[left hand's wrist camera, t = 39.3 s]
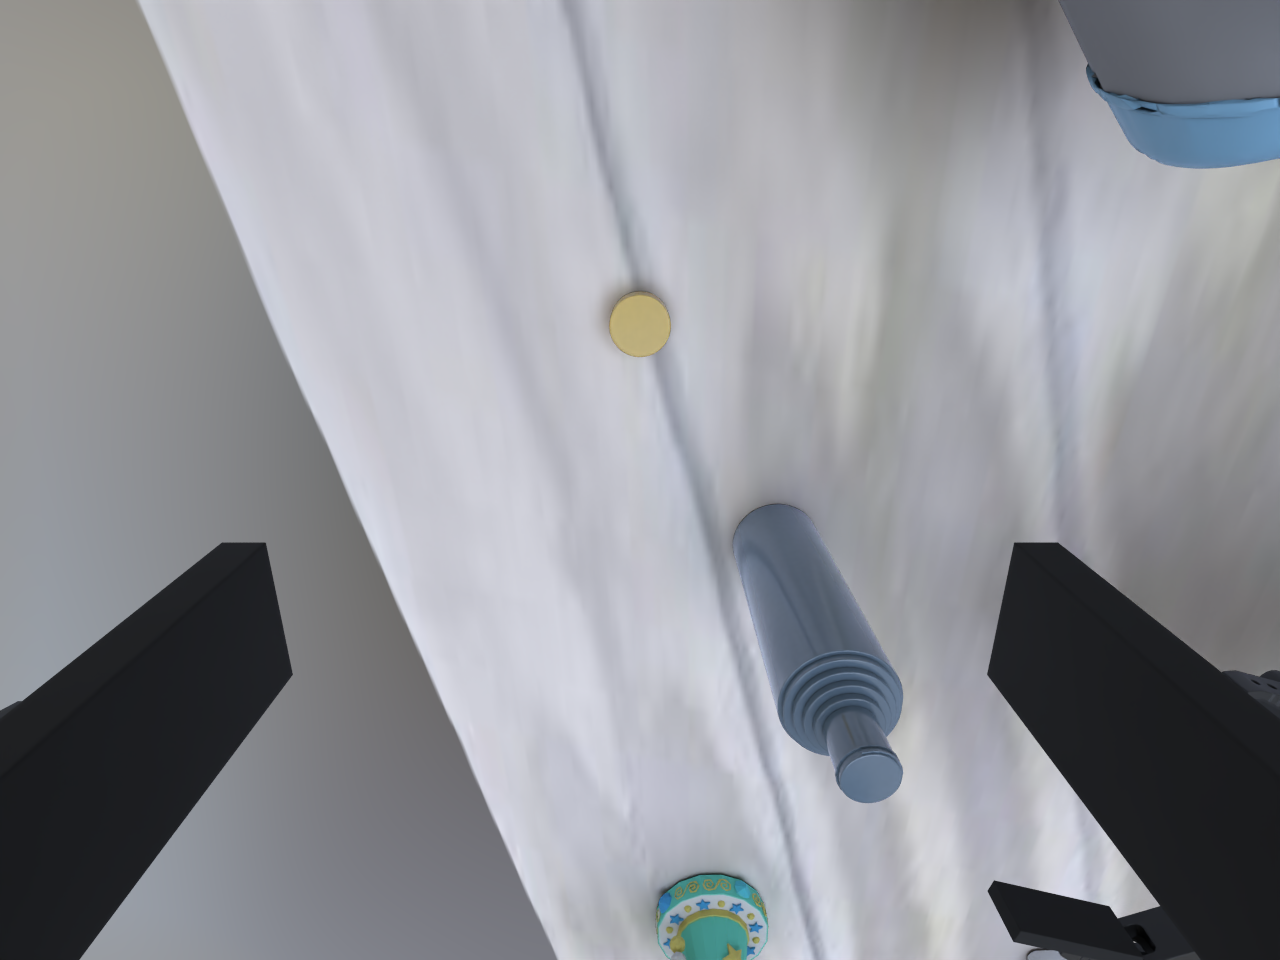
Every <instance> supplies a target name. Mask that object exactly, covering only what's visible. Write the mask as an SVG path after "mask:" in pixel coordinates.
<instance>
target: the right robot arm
mask: <svg viewBox="0 0 1280 960" xmlns="http://www.w3.org/2000/svg"><path fill="white" fill-rule="evenodd" d="M1222 673H1223V674H1224V675H1225V676H1227V677H1228V678H1229V679H1230V680H1232V681H1233V682H1234V683H1235V684H1237V685H1238V686H1239V687H1240V688H1242V689H1243V690H1244V691H1245V692H1247V693H1248V694H1249V695H1251V696H1252V697H1253V698H1254V699H1264V700H1266V701H1268V702H1270V703H1272V704H1274V705H1276V706H1278V707H1280V671H1277V670H1271V671H1268V672H1266V673H1264V674H1262V675H1261V676H1260V677H1258V676H1255V675H1251V674H1247V673H1243V672H1240V671H1236V670H1235V671H1223V672H1222ZM988 893H989V895H990V897H991V899H992V901H993V903H994V905H995V907H996V909H997V910H998V912H999V914H1000V916H1001V918H1002V920H1003V922H1004V924H1005V926H1006V928H1007V930H1008V932H1009V934H1010V936H1011V938H1012V940H1013V942H1017V943H1021V944H1026V945H1031V946H1035V947H1040V948H1044V949H1049V950H1054V951H1058V952H1059V954H1060V956H1062V957H1064V958H1065V959H1067V960H1201V959H1200V958H1199V957H1198V955H1197V954H1196V953H1195V951H1194V950H1193V949H1192V947H1191V946H1190V945H1189V943H1188V942H1187V941H1186V939H1185V938H1184V937H1183V935H1182V934H1181V933H1180V931H1179V930H1178V929H1177V927H1176V926H1175V925H1174V923H1173V922H1172V921H1171V919H1170V918H1169V917H1168V915H1167V914H1166V913H1165V911H1164V910H1163V909H1162V907H1161V906H1159V907H1156V908H1152V909H1149V910H1146V911H1142V912H1139V913H1135V914H1132V915H1128V916H1125V917H1122V918H1118V919H1117V917H1116V916H1115V914H1114V913H1113V911H1112V910H1111V908H1110V907H1109V906H1105V905H1101V904H1096V903H1092V902H1087V901H1083V900H1079V899H1074V898H1070V897H1065V896H1061V895H1056V894H1052V893H1047V892H1043V891H1039V890H1034V889H1030V888H1025V887H1021V886H1016V885H1012V884H1007V883H1003V882H998V881H993V883H992V885H991V886H990V888H989V889H988ZM1133 941H1135V942H1137V943H1134V942H1133Z"/></svg>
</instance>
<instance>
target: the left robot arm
mask: <svg viewBox="0 0 1280 960" xmlns="http://www.w3.org/2000/svg"><path fill="white" fill-rule="evenodd" d="M1059 2H1060V5H1061V7H1062V9H1063V11H1064V13H1065V15H1066V17H1067V19H1068V21H1069V24H1070V26H1071V28H1072V30H1073V32H1074V34H1075V36H1076V38H1077V40H1078V42H1079V45H1080V47H1081V49H1082V51H1083V53H1084V55H1085V57H1086V59H1087V61H1088V65H1087V68H1086V73H1087V77H1088V80H1089V82H1090V84H1091V87H1092V88H1093V90H1094V91H1095V92H1096V93H1098V94H1099V95H1100V96H1101V97H1102V98H1103V99H1104V100H1105V101H1107V102H1108V104H1109V106H1110V108H1111V110H1112V112H1113V114H1114V115H1115V117H1116V119H1117V121H1118V123H1119V125H1120V126H1121V128H1122V130H1123V132H1124V134H1125V136H1126V138H1127V139H1128V141H1129V142H1130V144H1131V145H1132V146H1133V147H1134V148H1135V149H1136V150H1138V151H1139V152H1141V153H1144V154H1146V155H1147V156H1148V157H1149V158H1151V159H1154V160H1156V161H1158V162H1159V163H1162V164H1165V165H1170V166H1175V167H1183V168H1222V167H1232V166H1239V165H1245V164H1252V163H1258V162H1263V161H1268V160H1273V159H1278V158H1280V0H1059ZM292 675H293V673H292V669H291V664H290V659H289V654H288V649H287V644H286V639H285V635H284V630H283V625H282V620H281V615H280V610H279V605H278V600H277V595H276V591H275V586H274V581H273V576H272V571H271V566H270V561H269V556H268V551H267V547H266V543H221V544H220V545H219V546H217V547H216V548H215V549H213V550H212V551H211V552H210V553H208V554H207V555H206V556H205V557H203V558H202V559H201V560H200V561H198V562H197V563H196V564H195V565H193V566H192V567H191V568H190V569H188V570H187V571H186V572H184V573H183V574H182V575H181V576H179V577H178V578H177V579H176V580H174V581H173V582H172V583H171V584H169V585H168V586H167V587H166V588H164V589H163V590H162V591H161V592H159V593H158V594H157V595H155V596H154V597H153V598H152V599H150V600H149V601H148V602H147V603H145V604H144V605H143V606H142V607H140V608H139V609H138V610H137V611H135V612H134V613H133V614H132V615H130V616H129V617H128V618H126V619H125V620H124V621H123V622H121V623H120V624H119V625H118V626H116V627H115V628H114V629H113V630H111V631H110V632H109V633H108V634H106V635H105V636H104V637H103V638H101V639H100V640H99V641H98V642H96V643H95V644H94V645H92V646H91V647H90V648H89V649H87V650H86V651H85V652H84V653H82V654H81V655H80V656H79V657H77V658H76V659H75V660H74V661H72V662H71V663H70V664H69V665H67V666H66V667H65V668H63V669H62V670H61V671H60V672H58V673H57V674H56V675H55V676H53V677H52V678H51V679H50V680H48V681H47V682H46V683H45V684H43V685H42V686H41V687H40V688H38V689H37V690H36V691H35V692H33V693H32V694H31V695H29V696H28V697H27V698H26V699H24V700H23V701H18V702H16V703H14V704H12V705H10V706H8V707H6V708H4V709H2V710H1V711H0V960H79V959H80V958H81V957H82V955H83V954H84V953H85V951H86V950H87V949H88V947H89V946H90V945H91V943H92V942H93V941H94V939H95V938H96V937H97V935H98V934H99V933H100V931H101V930H102V929H103V927H104V926H105V925H106V923H107V922H108V921H109V919H110V918H111V917H112V915H113V914H114V913H115V911H116V910H117V909H118V907H119V906H120V905H121V903H122V902H123V901H124V899H125V898H126V897H127V895H128V894H129V893H130V891H131V890H132V889H133V887H134V886H135V885H136V883H137V882H138V881H139V879H140V878H141V877H142V875H143V874H144V873H145V871H146V870H147V869H148V867H149V866H150V865H151V863H152V862H153V861H154V859H155V858H156V856H157V855H158V854H159V853H160V851H161V850H162V848H163V847H164V846H165V845H166V843H167V842H168V840H169V839H170V838H171V837H172V835H173V834H174V832H175V831H176V830H177V828H178V827H179V826H180V825H181V823H182V822H183V820H184V819H185V818H186V816H187V815H188V814H189V812H190V811H191V810H192V808H193V807H194V806H195V804H196V803H197V802H198V800H199V799H200V798H201V796H202V795H203V794H204V792H205V791H206V790H207V788H208V787H209V786H210V784H211V783H212V782H213V780H214V779H215V778H216V776H217V775H218V774H219V772H220V771H221V770H222V768H223V767H224V766H225V764H226V763H227V762H228V760H229V759H230V758H231V756H232V755H233V754H234V752H235V751H236V750H237V748H238V747H239V746H240V744H241V743H242V742H243V740H244V739H245V738H246V736H247V735H248V734H249V732H250V731H251V730H252V728H253V727H254V726H255V724H256V723H257V722H258V720H259V719H260V718H261V716H262V715H263V714H264V712H265V711H266V710H267V708H268V707H269V706H270V704H271V703H272V702H273V700H274V699H275V698H276V696H277V695H278V694H279V692H280V691H281V690H282V688H283V687H284V686H285V684H286V683H287V682H288V680H289V679H290V678H291V676H292ZM987 675H988V676H989V678H990V679H991V680H992V682H993V683H994V684H995V686H996V687H997V688H998V690H999V691H1000V692H1001V694H1002V695H1003V696H1004V698H1005V699H1006V700H1007V702H1008V703H1009V704H1010V706H1011V707H1012V708H1013V710H1014V711H1015V712H1016V714H1017V715H1018V716H1019V718H1020V719H1021V720H1022V722H1023V723H1024V724H1025V726H1026V727H1027V728H1028V730H1029V731H1030V732H1031V734H1032V735H1033V736H1034V738H1035V739H1036V740H1037V742H1038V743H1039V744H1040V746H1041V747H1042V748H1043V750H1044V751H1045V752H1046V754H1047V755H1048V756H1049V758H1050V759H1051V760H1052V762H1053V763H1054V764H1055V766H1056V767H1057V768H1058V770H1059V771H1060V772H1061V774H1062V775H1063V776H1064V778H1065V779H1066V780H1067V782H1068V783H1069V784H1070V786H1071V787H1072V788H1073V790H1074V791H1075V792H1076V794H1077V795H1078V796H1079V798H1080V799H1081V800H1082V802H1083V803H1084V804H1085V806H1086V807H1087V808H1088V810H1089V811H1090V812H1091V814H1092V815H1093V816H1094V818H1095V819H1096V821H1097V822H1098V823H1099V825H1100V826H1101V827H1102V829H1103V830H1104V831H1105V833H1106V834H1107V835H1108V837H1109V838H1110V839H1111V841H1112V842H1113V843H1114V845H1115V846H1116V847H1117V849H1118V850H1119V851H1120V853H1121V854H1122V855H1123V857H1124V858H1125V859H1126V861H1127V862H1128V863H1129V865H1130V866H1131V867H1132V869H1133V870H1134V871H1135V873H1136V874H1137V875H1138V877H1139V878H1140V879H1141V881H1142V882H1143V883H1144V885H1145V886H1146V887H1147V889H1148V890H1149V891H1150V893H1151V894H1152V895H1153V897H1154V898H1155V899H1156V901H1157V902H1158V903H1159V905H1160V906H1161V907H1162V909H1163V910H1164V911H1165V913H1166V914H1167V915H1168V917H1169V918H1170V919H1171V921H1172V922H1173V923H1174V925H1175V926H1176V927H1177V929H1178V930H1179V931H1180V933H1181V934H1182V935H1183V937H1184V938H1185V939H1186V941H1187V942H1188V943H1189V945H1190V946H1191V947H1192V949H1193V950H1194V951H1195V953H1196V954H1197V955H1198V957H1199V958H1200V959H1201V960H1280V707H1278V706H1276V705H1274V704H1272V703H1270V702H1268V701H1266V700H1264V699H1254V698H1253V697H1252V696H1251V695H1249V694H1248V693H1247V692H1245V691H1244V690H1243V689H1242V688H1240V687H1239V686H1238V685H1237V684H1235V683H1234V682H1233V681H1232V680H1230V679H1229V678H1228V677H1227V676H1225V675H1224V674H1223V673H1222V672H1220V671H1219V670H1218V669H1217V668H1215V667H1214V666H1213V665H1211V664H1210V663H1209V662H1208V661H1206V660H1205V659H1204V658H1203V657H1201V656H1200V655H1199V654H1198V653H1196V652H1195V651H1194V650H1193V649H1191V648H1190V647H1189V646H1188V645H1186V644H1185V643H1184V642H1183V641H1181V640H1180V639H1179V638H1177V637H1176V636H1175V635H1174V634H1172V633H1171V632H1170V631H1169V630H1167V629H1166V628H1165V627H1164V626H1162V625H1161V624H1160V623H1159V622H1157V621H1156V620H1155V619H1154V618H1152V617H1151V616H1150V615H1148V614H1147V613H1146V612H1145V611H1143V610H1142V609H1141V608H1140V607H1138V606H1137V605H1136V604H1135V603H1133V602H1132V601H1131V600H1130V599H1128V598H1127V597H1126V596H1125V595H1123V594H1122V593H1121V592H1120V591H1118V590H1117V589H1116V588H1114V587H1113V586H1112V585H1111V584H1109V583H1108V582H1107V581H1106V580H1104V579H1103V578H1102V577H1101V576H1099V575H1098V574H1097V573H1096V572H1094V571H1093V570H1092V569H1091V568H1089V567H1088V566H1087V565H1086V564H1084V563H1083V562H1082V561H1080V560H1079V559H1078V558H1077V557H1075V556H1074V555H1073V554H1072V553H1070V552H1069V551H1068V550H1067V549H1065V548H1064V547H1063V546H1062V545H1060V544H1059V543H1014V547H1013V551H1012V556H1011V561H1010V566H1009V571H1008V576H1007V581H1006V586H1005V591H1004V595H1003V600H1002V605H1001V610H1000V615H999V620H998V625H997V630H996V634H995V639H994V644H993V649H992V654H991V659H990V664H989V669H988V673H987Z"/></svg>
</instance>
